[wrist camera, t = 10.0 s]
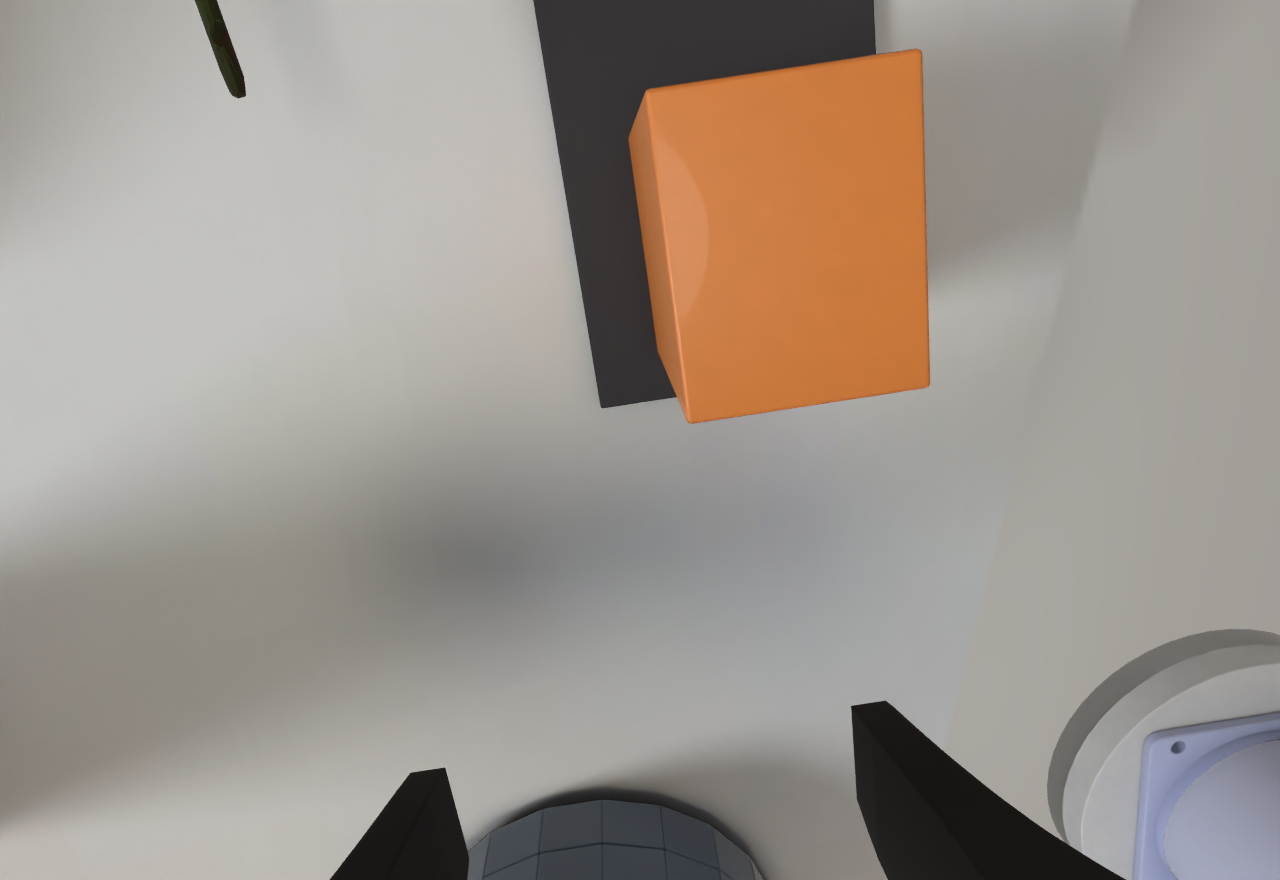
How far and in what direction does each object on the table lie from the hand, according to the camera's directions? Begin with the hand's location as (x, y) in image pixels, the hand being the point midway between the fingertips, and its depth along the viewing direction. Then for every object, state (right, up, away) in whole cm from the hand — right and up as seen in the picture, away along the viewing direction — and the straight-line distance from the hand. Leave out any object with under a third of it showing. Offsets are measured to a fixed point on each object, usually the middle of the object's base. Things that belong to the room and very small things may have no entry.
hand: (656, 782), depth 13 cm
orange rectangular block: (+2, +11, +6) cm, 13 cm away
